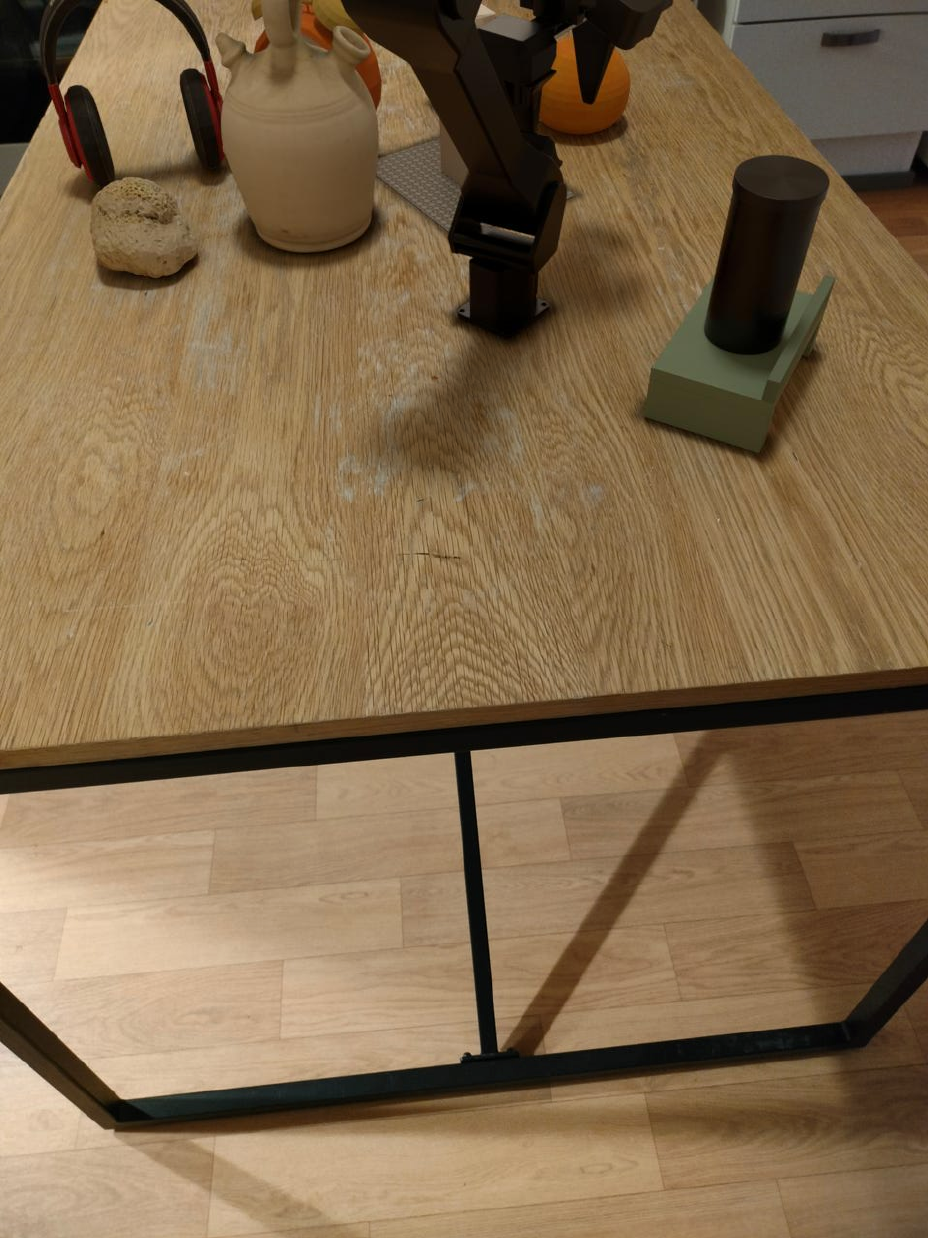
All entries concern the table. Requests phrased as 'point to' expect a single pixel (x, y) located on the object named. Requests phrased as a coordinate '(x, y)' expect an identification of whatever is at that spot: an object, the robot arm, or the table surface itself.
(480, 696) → the table surface
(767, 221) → the canister
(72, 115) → the headphones
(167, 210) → the decorative item
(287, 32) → the jug
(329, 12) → the alarm clock
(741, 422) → the olive lipped block
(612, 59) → the fruit
